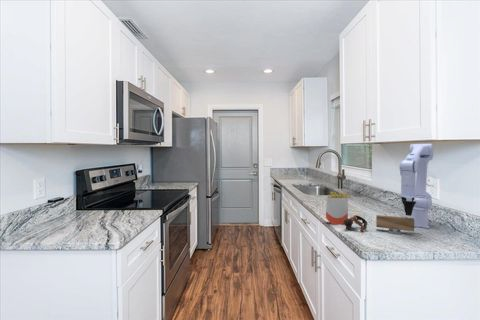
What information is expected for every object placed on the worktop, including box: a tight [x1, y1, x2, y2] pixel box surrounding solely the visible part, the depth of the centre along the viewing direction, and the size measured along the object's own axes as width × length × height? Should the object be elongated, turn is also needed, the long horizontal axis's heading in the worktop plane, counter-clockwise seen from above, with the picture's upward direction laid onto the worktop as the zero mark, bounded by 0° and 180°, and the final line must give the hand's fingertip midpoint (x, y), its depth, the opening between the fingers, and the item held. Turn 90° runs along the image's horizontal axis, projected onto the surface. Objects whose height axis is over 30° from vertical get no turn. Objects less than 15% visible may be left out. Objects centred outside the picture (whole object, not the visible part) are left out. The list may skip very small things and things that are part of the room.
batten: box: [375, 214, 415, 232], centre depth 128 cm, size 4×16×6 cm, turn 61°
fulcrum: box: [388, 228, 402, 236], centre depth 128 cm, size 7×5×2 cm
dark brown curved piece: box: [343, 214, 368, 233], centre depth 133 cm, size 12×10×8 cm
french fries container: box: [325, 191, 349, 226], centre depth 145 cm, size 5×11×18 cm, turn 84°
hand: (408, 213), depth 123 cm, fingers open, 7 cm apart
